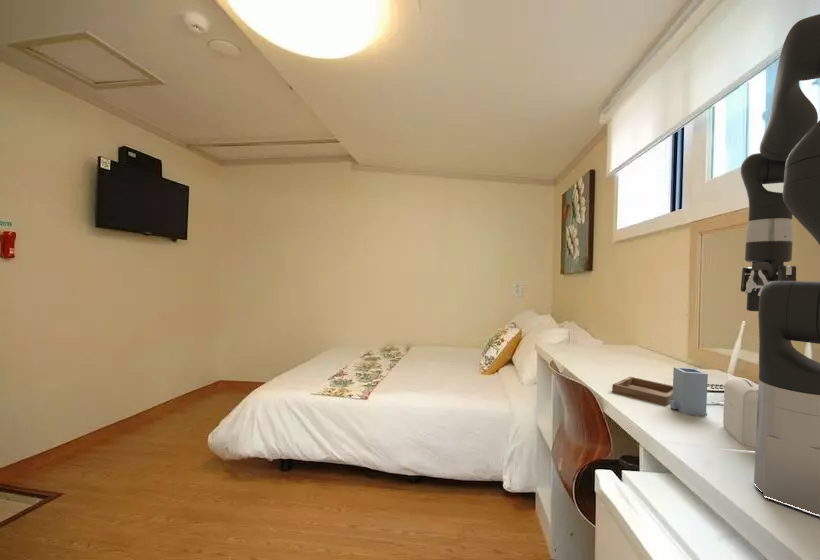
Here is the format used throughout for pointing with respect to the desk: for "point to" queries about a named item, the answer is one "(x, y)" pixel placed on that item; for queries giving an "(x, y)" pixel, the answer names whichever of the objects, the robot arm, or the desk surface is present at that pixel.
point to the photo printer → (741, 409)
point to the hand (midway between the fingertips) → (764, 312)
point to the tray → (644, 390)
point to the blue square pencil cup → (689, 391)
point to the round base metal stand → (689, 414)
